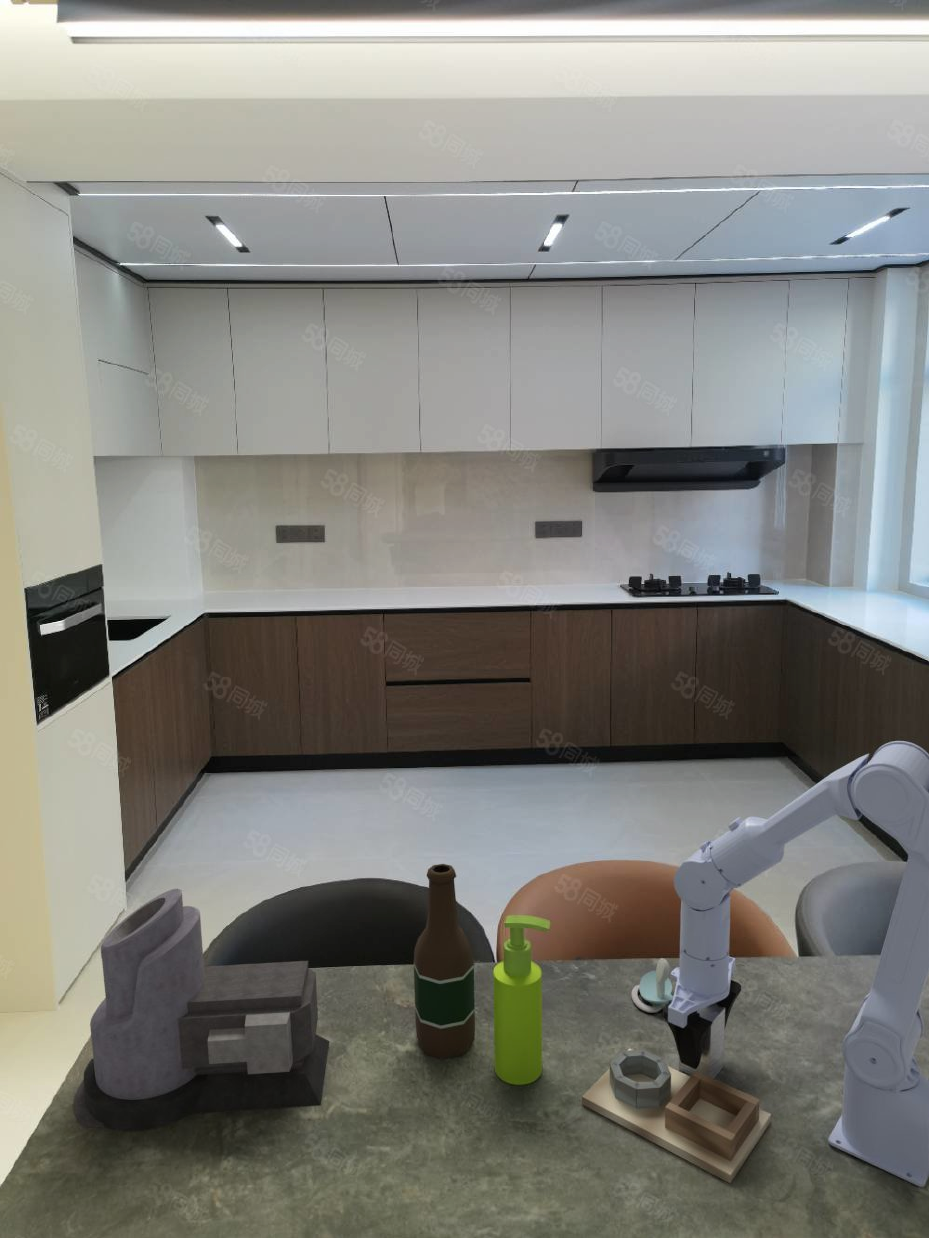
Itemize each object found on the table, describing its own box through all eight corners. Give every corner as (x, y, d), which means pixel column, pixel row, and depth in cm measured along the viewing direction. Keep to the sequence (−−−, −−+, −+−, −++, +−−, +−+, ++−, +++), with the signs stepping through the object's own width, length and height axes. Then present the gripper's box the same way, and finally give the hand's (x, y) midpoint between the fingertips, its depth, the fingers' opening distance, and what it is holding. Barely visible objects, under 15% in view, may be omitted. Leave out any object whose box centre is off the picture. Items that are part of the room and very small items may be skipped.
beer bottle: (477, 1023, 115) (474, 855, 111) (472, 1062, 107) (469, 883, 103) (420, 1021, 116) (415, 854, 112) (411, 1059, 108) (405, 881, 104)
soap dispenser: (547, 1088, 102) (547, 934, 99) (491, 1081, 104) (488, 928, 100) (552, 1056, 108) (552, 909, 105) (498, 1050, 109) (496, 904, 106)
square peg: (723, 1066, 106) (725, 1007, 104) (709, 1083, 103) (711, 1023, 101) (693, 1053, 108) (694, 995, 107) (678, 1069, 105) (680, 1010, 104)
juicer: (51, 1137, 96) (29, 936, 92) (101, 1045, 112) (84, 870, 108) (319, 1119, 98) (309, 921, 94) (331, 1031, 114) (323, 858, 110)
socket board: (770, 1121, 96) (771, 1094, 96) (730, 1183, 88) (731, 1153, 87) (629, 1055, 108) (629, 1030, 107) (582, 1104, 100) (582, 1077, 99)
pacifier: (637, 1018, 116) (681, 1016, 116) (636, 976, 115) (681, 974, 115) (626, 987, 123) (668, 985, 123) (626, 947, 122) (667, 944, 122)
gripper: (699, 913, 111) (697, 1009, 113) (645, 962, 100) (643, 1067, 102) (752, 931, 106) (749, 1030, 108) (701, 984, 95) (698, 1093, 98)
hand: (701, 1050), depth 105 cm, fingers open, 6 cm apart
